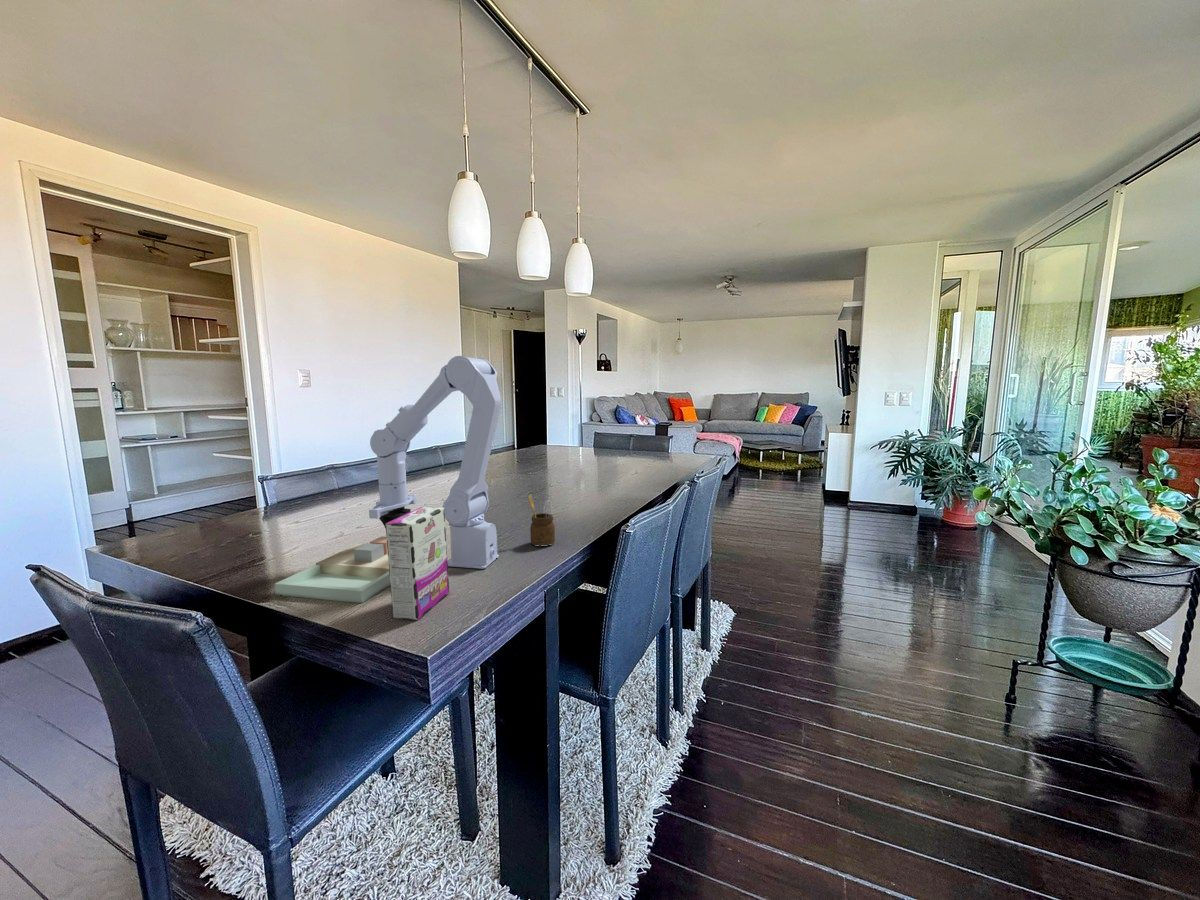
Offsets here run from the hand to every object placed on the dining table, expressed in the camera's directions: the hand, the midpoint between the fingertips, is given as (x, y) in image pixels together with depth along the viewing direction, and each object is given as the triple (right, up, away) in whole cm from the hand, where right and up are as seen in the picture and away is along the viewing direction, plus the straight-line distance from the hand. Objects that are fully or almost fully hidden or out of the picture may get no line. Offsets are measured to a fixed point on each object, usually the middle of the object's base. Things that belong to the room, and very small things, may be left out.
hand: (396, 541), depth 111 cm
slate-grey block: (-2, -2, -9) cm, 9 cm away
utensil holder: (+32, -2, +8) cm, 33 cm away
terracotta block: (-1, -1, -4) cm, 4 cm away
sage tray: (-4, -6, -18) cm, 19 cm away
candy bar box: (+15, -7, -26) cm, 31 cm away
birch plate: (-1, -4, -7) cm, 8 cm away
